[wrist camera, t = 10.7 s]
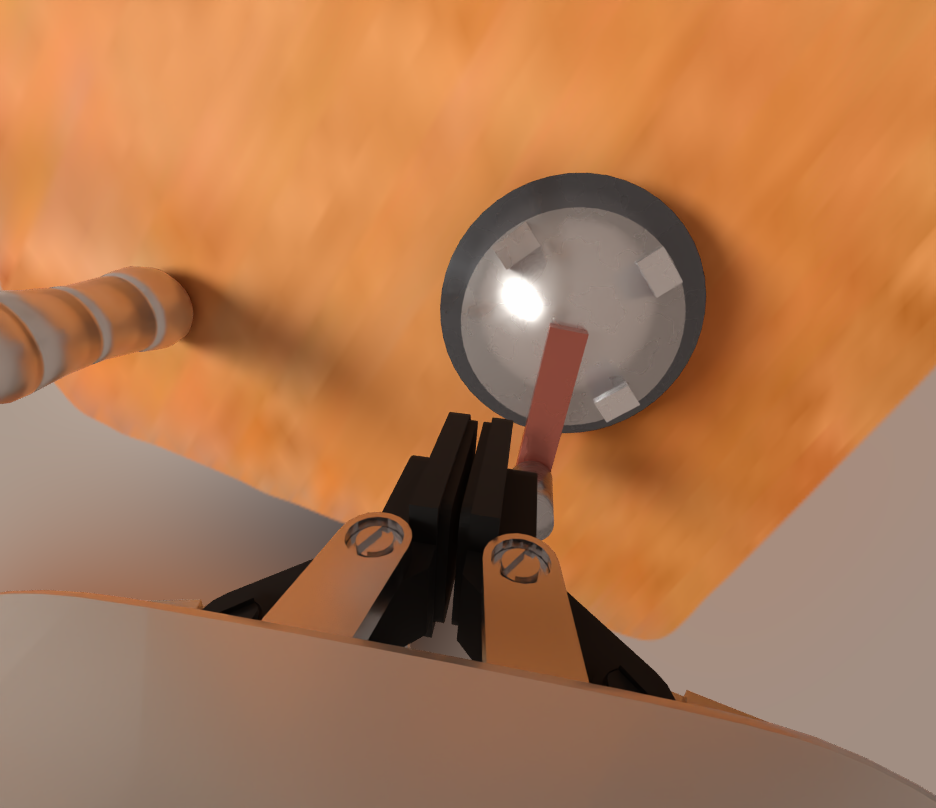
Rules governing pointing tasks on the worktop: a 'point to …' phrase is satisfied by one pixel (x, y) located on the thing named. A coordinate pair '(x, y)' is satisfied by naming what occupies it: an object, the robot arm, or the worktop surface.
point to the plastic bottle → (86, 325)
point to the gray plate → (561, 195)
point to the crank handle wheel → (571, 326)
